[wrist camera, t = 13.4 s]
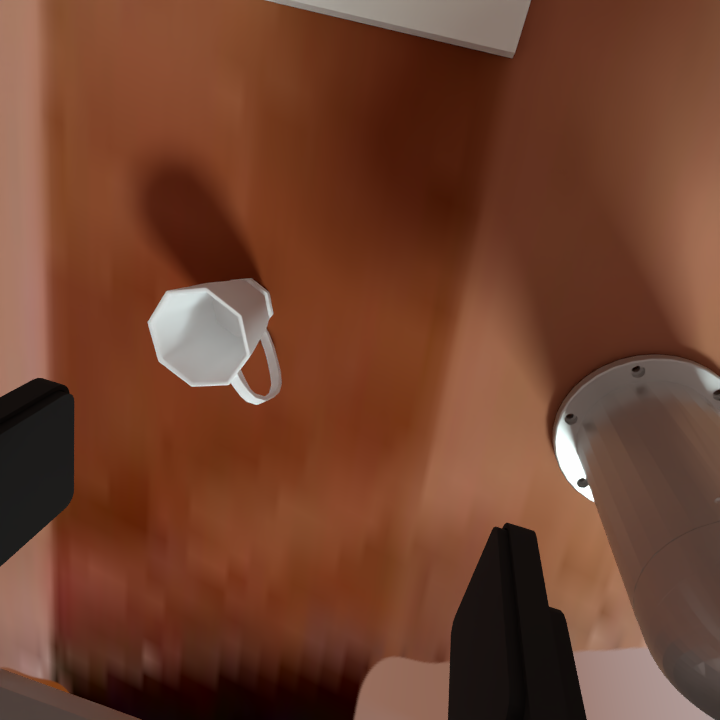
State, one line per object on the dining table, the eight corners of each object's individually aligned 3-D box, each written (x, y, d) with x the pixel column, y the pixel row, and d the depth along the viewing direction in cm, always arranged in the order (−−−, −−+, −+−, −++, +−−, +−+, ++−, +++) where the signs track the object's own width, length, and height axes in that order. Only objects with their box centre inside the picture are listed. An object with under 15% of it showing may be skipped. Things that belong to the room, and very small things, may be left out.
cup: (257, 242, 39) (208, 265, 31) (326, 357, 41) (295, 402, 34) (187, 285, 41) (125, 315, 34) (256, 391, 43) (212, 441, 36)
